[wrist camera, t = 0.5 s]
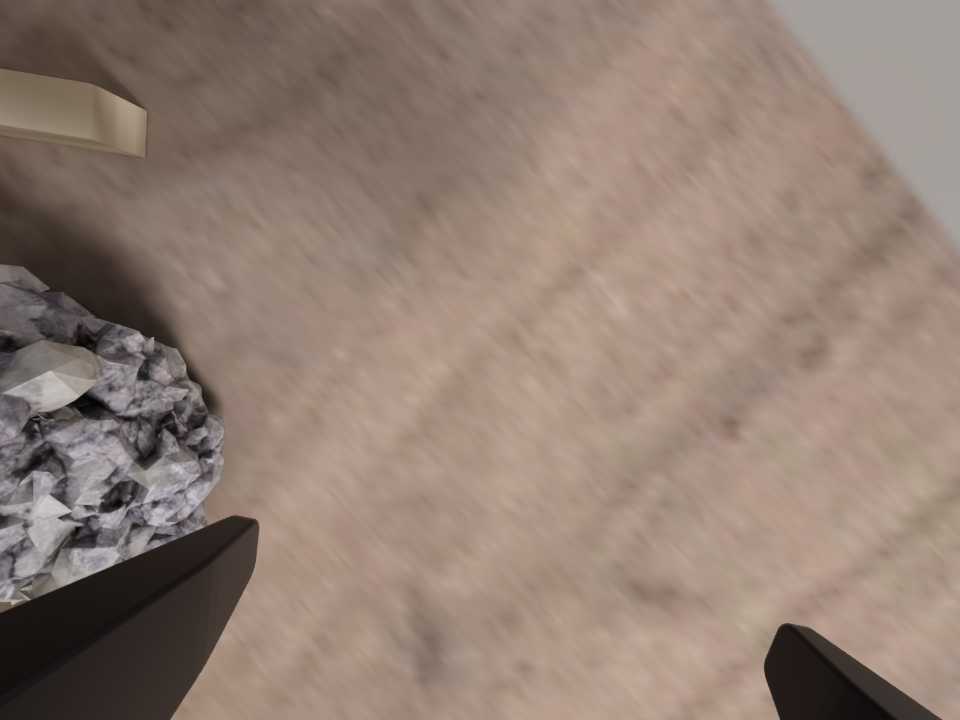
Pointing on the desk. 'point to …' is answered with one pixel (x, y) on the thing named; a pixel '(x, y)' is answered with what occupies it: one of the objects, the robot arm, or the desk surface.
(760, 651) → the desk surface
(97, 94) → the corridor walls
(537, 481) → the desk surface
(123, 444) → the mineral specimen
